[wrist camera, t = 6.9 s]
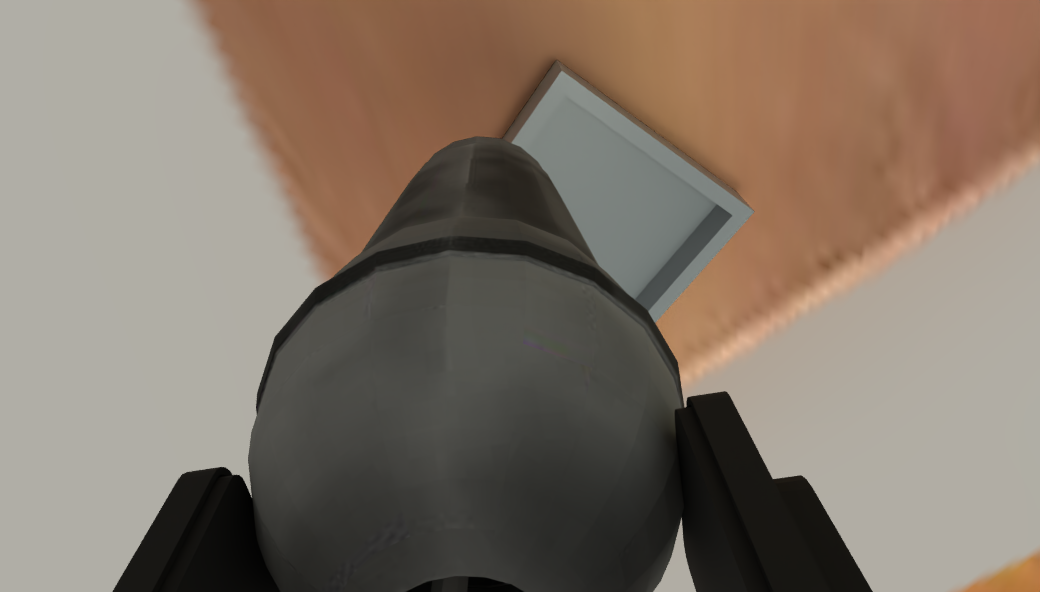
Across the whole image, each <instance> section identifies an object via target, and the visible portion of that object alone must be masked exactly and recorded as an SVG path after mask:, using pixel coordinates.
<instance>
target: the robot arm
mask: <svg viewBox="0 0 1040 592" xmlns="http://www.w3.org/2000/svg"><path fill="white" fill-rule="evenodd" d="M674 415H675V430H676V441H677V446H678V454H679V464H680V473H681V482H682V491H683V500H684V510H683V513H682V526H683V539H684V547H685V553H686V558H687V562H688V566H689V569H690V573H691V576H692V579H693V583H694V586H695V589H696V592H873V591H872V590H871V588H870V586H869V585H868V583H867V581H866V580H865V578H864V576H863V574H862V572H861V571H860V569H859V568H858V566H857V564H856V562H855V560H854V559H853V557H852V556H851V554H850V552H849V550H848V548H847V547H846V545H845V543H844V541H843V540H842V538H841V536H840V535H839V533H838V531H837V529H836V528H835V526H834V524H833V523H832V521H831V519H830V517H829V516H828V514H827V512H826V511H825V509H824V507H823V505H822V504H821V502H820V500H819V498H818V497H817V495H816V493H815V491H814V490H813V488H812V487H811V485H810V484H809V483H808V481H807V480H806V479H805V478H804V477H803V476H794V477H786V478H779V479H772V477H771V475H770V473H769V471H768V469H767V467H766V465H765V463H764V461H763V460H762V458H761V456H760V454H759V452H758V450H757V448H756V446H755V444H754V442H753V440H752V438H751V436H750V434H749V432H748V431H747V428H746V426H745V424H744V423H743V421H742V419H741V417H740V415H739V413H738V411H737V409H736V407H735V405H734V404H733V401H732V399H731V397H730V396H729V394H728V393H727V392H725V391H724V392H718V393H712V394H705V395H698V396H691V397H688V398H687V407H686V408H679V409H675V413H674ZM113 592H280V590H279V588H278V587H277V585H276V583H275V581H274V579H273V578H272V576H271V574H270V572H269V570H268V568H267V567H266V564H265V562H264V559H263V556H262V553H261V550H260V548H259V545H258V542H257V536H256V530H255V520H254V511H253V501H252V497H251V495H250V493H249V491H248V488H247V486H246V484H245V482H244V480H243V478H242V477H241V476H240V475H232V474H231V472H230V471H229V470H228V469H226V468H224V467H219V468H212V469H205V470H199V471H192V472H186V473H185V474H182V475H181V477H180V478H179V479H178V481H177V483H176V484H175V486H174V488H173V489H172V491H171V493H170V494H169V496H168V498H167V499H166V501H165V503H164V505H163V506H162V508H161V510H160V511H159V513H158V515H157V516H156V518H155V520H154V522H153V523H152V525H151V527H150V528H149V530H148V532H147V534H146V535H145V537H144V539H143V540H142V542H141V544H140V546H139V547H138V549H137V551H136V552H135V554H134V556H133V558H132V559H131V561H130V563H129V564H128V566H127V568H126V570H125V571H124V573H123V575H122V576H121V578H120V580H119V581H118V583H117V585H116V587H115V588H114V590H113Z"/></svg>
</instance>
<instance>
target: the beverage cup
mask: <svg viewBox="0 0 1040 592" xmlns="http://www.w3.org/2000/svg"><path fill="white" fill-rule="evenodd" d="M679 408H684V402H683V395H682V388H681V381H680V374H679V367H678V362H677V360H676V358H675V356H674V355H673V353H672V351H671V350H670V348H669V346H668V344H667V343H666V341H665V339H664V338H663V336H662V334H661V332H660V331H659V329H658V327H657V326H656V324H655V322H654V320H653V319H652V317H651V315H650V314H649V312H648V310H647V309H646V308H644V307H643V306H642V305H641V304H640V303H638V302H637V301H636V300H635V299H634V298H632V297H631V296H630V295H629V294H627V293H626V292H625V291H624V290H623V288H622V287H621V286H620V285H619V284H618V283H617V282H616V281H615V280H614V279H613V278H612V277H611V276H610V275H609V274H608V273H607V272H606V271H605V270H603V269H602V268H601V267H600V266H599V265H598V263H597V261H596V259H595V258H594V256H593V254H592V252H591V250H590V249H589V247H588V245H587V243H586V241H585V240H584V238H583V236H582V234H581V232H580V230H579V229H578V227H577V225H576V223H575V221H574V220H573V218H572V216H571V214H570V212H569V210H568V209H567V207H566V205H565V203H564V201H563V200H562V198H561V196H560V194H559V192H558V191H557V189H556V187H555V186H554V184H553V182H552V181H551V179H550V177H549V176H548V174H547V173H546V172H545V171H544V170H543V169H542V167H541V166H540V164H539V162H538V161H537V160H535V159H534V158H533V157H532V156H531V155H530V154H528V153H527V152H526V151H525V150H524V149H523V148H521V147H519V146H517V145H515V144H512V143H510V142H507V141H505V140H502V139H500V138H489V137H477V136H476V137H472V138H468V139H464V140H459V141H455V142H453V143H451V144H450V145H448V146H446V147H445V148H443V149H441V150H440V151H438V152H437V153H435V154H434V155H433V156H432V157H431V159H430V160H429V161H428V162H427V163H425V165H424V166H423V167H422V168H421V169H420V171H419V172H418V173H417V174H416V175H415V177H414V178H413V179H412V180H411V181H410V183H409V184H408V185H407V187H406V188H405V190H404V191H403V193H402V194H401V196H400V197H399V199H398V200H397V201H396V203H395V204H394V206H393V207H392V209H391V210H390V212H389V213H388V215H387V216H386V217H385V219H384V220H383V222H382V223H381V225H380V226H379V228H378V229H377V230H376V232H375V233H374V235H373V236H372V238H371V239H370V241H369V242H368V244H367V245H366V246H365V248H364V249H363V251H362V252H361V254H359V255H358V256H356V257H355V258H354V259H353V260H352V261H350V262H349V263H348V264H347V265H346V266H345V267H343V268H342V269H341V270H340V271H339V272H338V273H336V274H335V276H334V277H333V278H331V279H330V280H328V281H326V282H325V283H323V284H321V285H320V286H318V287H316V288H315V289H314V290H313V292H312V293H311V294H310V295H309V296H308V298H307V299H306V300H305V301H304V302H303V304H302V305H301V306H300V308H299V309H298V310H297V311H296V312H295V313H294V315H293V316H292V317H291V318H290V320H289V321H288V322H287V323H286V325H285V326H284V327H283V328H282V329H281V330H280V332H279V333H278V334H277V335H276V336H275V338H274V342H273V345H272V348H271V351H270V354H269V357H268V361H267V364H266V367H265V370H264V373H263V377H262V380H261V383H260V386H259V389H258V393H257V404H256V411H257V417H256V420H255V423H254V426H253V429H252V432H251V441H250V448H249V456H248V463H249V472H250V482H251V492H252V501H253V511H254V520H255V530H256V536H257V542H258V545H259V548H260V550H261V553H262V556H263V559H264V562H265V564H266V567H267V568H268V570H269V572H270V574H271V576H272V578H273V579H274V581H275V583H276V585H277V587H278V588H279V590H280V592H653V591H654V590H655V588H656V587H657V585H658V584H659V582H660V581H661V579H662V577H663V574H664V572H665V570H666V568H667V565H668V563H669V561H670V558H671V555H672V552H673V548H674V544H675V540H676V537H677V532H678V529H679V525H680V521H681V517H682V513H683V510H684V500H683V491H682V482H681V473H680V464H679V454H678V446H677V441H676V430H675V415H674V413H675V409H679Z"/></svg>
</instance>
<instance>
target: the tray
mask: <svg viewBox="0 0 1040 592" xmlns="http://www.w3.org/2000/svg"><path fill="white" fill-rule="evenodd" d="M502 140H505V141H507V142H510V143H512V144H515V145H517V146H519V147H521V148H523V149H524V150H525V151H526V152H527V153H528V154H530V155H531V156H532V157H533V158H534V159H535V160H537V161H538V162H539V164H540V166H541V167H542V169H543V170H544V171H545V172H546V173H547V174H548V176H549V177H550V179H551V181H552V182H553V184H554V186H555V187H556V189H557V191H558V192H559V194H560V196H561V198H562V200H563V201H564V203H565V205H566V207H567V209H568V210H569V212H570V214H571V216H572V218H573V220H574V221H575V223H576V225H577V227H578V229H579V230H580V232H581V234H582V236H583V238H584V240H585V241H586V243H587V245H588V247H589V249H590V250H591V252H592V254H593V256H594V258H595V259H596V261H597V263H598V265H599V266H600V267H601V268H602V269H603V270H605V271H606V272H607V273H608V274H609V275H610V276H611V277H612V278H613V279H614V280H615V281H616V282H617V283H618V284H619V285H620V286H621V287H622V288H623V290H624V291H625V292H626V293H627V294H629V295H630V296H631V297H632V298H634V299H635V300H636V301H637V302H638V303H640V304H641V305H642V306H643V307H644V308H646V309H647V310H648V312H649V314H650V315H651V317H652V319H653V320H654V322H656V321H657V320H658V319H659V318H660V317H661V316H662V315H663V314H664V312H665V311H666V310H667V309H668V308H669V307H670V306H671V305H672V303H673V302H674V301H675V300H676V299H677V298H678V297H679V296H680V294H681V293H682V292H683V291H684V290H685V289H686V288H687V287H688V286H689V284H690V283H691V282H692V281H693V280H694V279H695V278H696V277H697V275H698V274H699V273H700V272H701V271H702V270H703V269H704V268H705V267H706V265H707V264H708V263H709V262H710V261H711V260H712V259H713V258H714V256H715V255H716V254H717V253H718V252H719V251H720V250H721V249H722V247H723V246H724V245H725V244H726V243H727V242H728V241H729V240H730V239H731V237H732V236H733V235H734V234H735V233H736V232H737V231H738V230H739V228H740V227H741V226H742V225H743V224H744V223H745V222H746V221H747V219H748V218H749V217H750V216H751V215H752V214H753V213H754V212H755V211H754V210H753V209H752V208H751V207H750V206H749V205H748V204H747V203H746V202H745V201H744V199H743V198H742V197H741V196H740V195H739V194H738V193H737V192H736V191H735V190H733V189H732V188H731V187H729V186H728V185H727V184H725V183H724V182H722V181H721V180H720V179H718V178H717V177H716V176H714V175H713V174H712V173H710V172H709V171H708V170H706V169H705V168H703V167H702V166H701V165H699V164H698V163H697V162H695V161H694V160H693V159H691V158H690V157H688V156H687V155H686V154H684V153H683V152H682V151H680V150H679V149H678V148H676V147H675V146H673V145H672V144H671V143H669V142H668V141H667V140H665V139H664V138H663V137H661V136H660V135H659V134H657V133H656V132H654V131H653V130H652V129H650V128H649V127H648V126H646V125H645V124H644V123H642V122H641V121H639V120H638V119H637V118H635V117H634V116H633V115H631V114H630V113H629V112H627V111H626V110H625V109H623V108H622V107H620V106H619V105H618V104H616V103H615V102H614V101H612V100H611V99H610V98H608V97H607V96H605V95H604V94H603V93H601V92H600V91H599V90H597V89H596V88H595V87H593V86H592V85H590V84H589V83H588V82H586V81H585V80H584V79H582V78H581V77H580V76H578V75H577V74H576V73H574V72H573V71H571V70H570V69H569V68H567V67H566V66H565V65H563V64H562V63H561V62H559V61H558V60H556V61H555V62H554V64H553V65H552V67H551V68H550V70H549V71H548V73H547V74H546V75H545V77H544V78H543V80H542V81H541V83H540V84H539V86H538V87H537V89H536V90H535V91H534V93H533V94H532V96H531V97H530V99H529V100H528V102H527V103H526V105H525V106H524V107H523V109H522V110H521V112H520V113H519V115H518V116H517V118H516V119H515V120H514V122H513V123H512V125H511V126H510V128H509V129H508V131H507V132H506V134H505V135H504V136H503V138H502Z"/></svg>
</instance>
